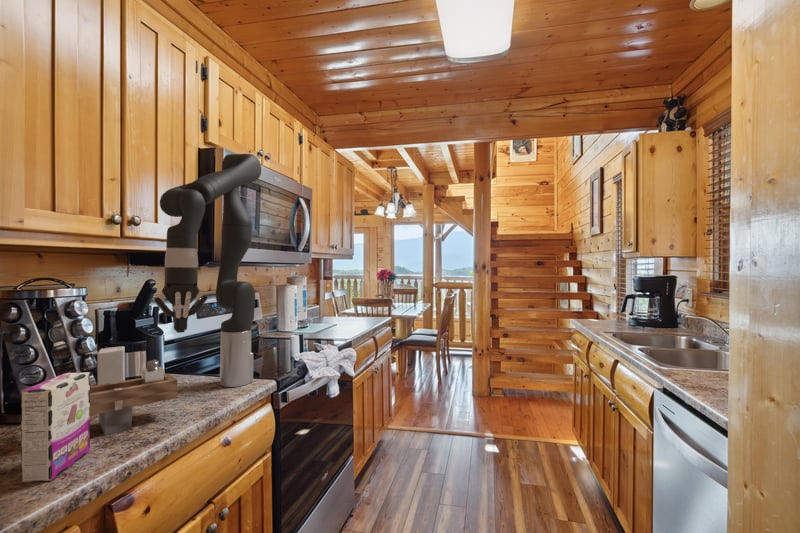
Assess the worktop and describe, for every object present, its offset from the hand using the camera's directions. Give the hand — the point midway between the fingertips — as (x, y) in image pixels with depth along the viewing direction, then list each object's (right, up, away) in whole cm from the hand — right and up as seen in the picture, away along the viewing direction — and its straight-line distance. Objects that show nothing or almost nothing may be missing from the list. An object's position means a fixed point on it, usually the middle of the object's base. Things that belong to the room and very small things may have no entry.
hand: (180, 332), depth 101 cm
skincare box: (-23, -21, +6) cm, 31 cm away
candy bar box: (-7, -21, -28) cm, 36 cm away
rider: (-4, -14, -4) cm, 15 cm away
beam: (-10, -21, -10) cm, 25 cm away
